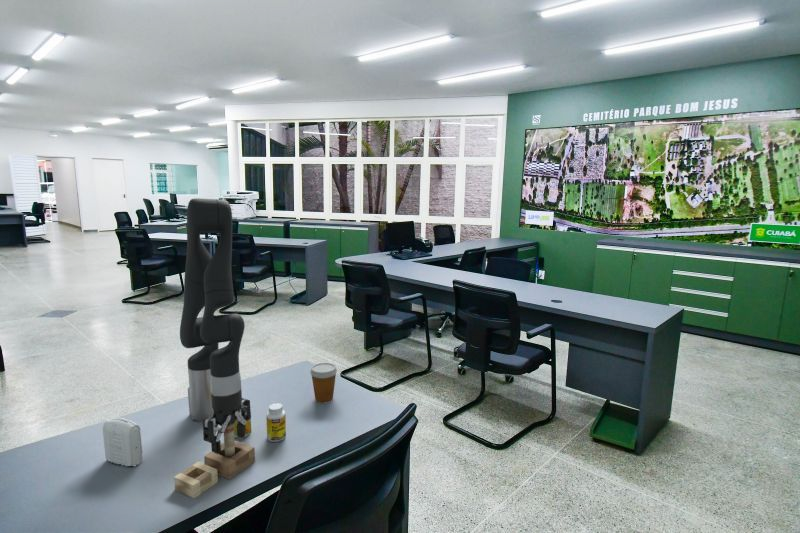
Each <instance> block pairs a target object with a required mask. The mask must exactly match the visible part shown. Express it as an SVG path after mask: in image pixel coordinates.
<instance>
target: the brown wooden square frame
mask: <svg viewBox="0 0 800 533" xmlns="http://www.w3.org/2000/svg"><path fill="white" fill-rule="evenodd" d="M234 442H235V455H234V456H232V457H231V458H227V457H225V450H224V442H223V443H222V444H221V453H219V454H216V453H214V452H212V450H211V451H209V452H208V453H207V454H205V455H204V458H203V459H204V464H205V465H208V466H210V467H213V468H215V469H217V476H221V477H223V478H225V479H228V480H231V479H232V478H233V477H235V476H236V475H238V474H239V473H241V472H242V471H243V470H244V469H246V468H248V467H249V466H250V465H251V464H252V463H254V462H255V461H256V453H255V452H256V451H255V449H256V448H255V446H252V445H249V444H246V443H244V442H240V441H238V440H235V439H234Z"/></svg>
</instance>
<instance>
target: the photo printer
mask: <svg viewBox="0 0 800 533" xmlns="http://www.w3.org/2000/svg"><path fill="white" fill-rule="evenodd" d="M102 434H103V435H102V436H103V443H104V445H103V446H104V456H105V460H106V461H107V460H108V461H107V462H109V461H111V462H110V463H112V462H114V463H113V464H116V463H117V464H116V465H119V464H121V465H120V466H123V465H125V466H124V467H127V466H134V465H137V464H138V465H140V464H141V463H140V462H142V460H143V446H142V445H143V444H142V434H141V427H140V425H139V424H137V423H136V422H134V421H133V420H130V419H127V418H123V417H112V418H109V419H108V420H105V421H104V423H103V425H102ZM139 463H140V464H139ZM138 465H137V466H138ZM134 467H135V466H134Z"/></svg>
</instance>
